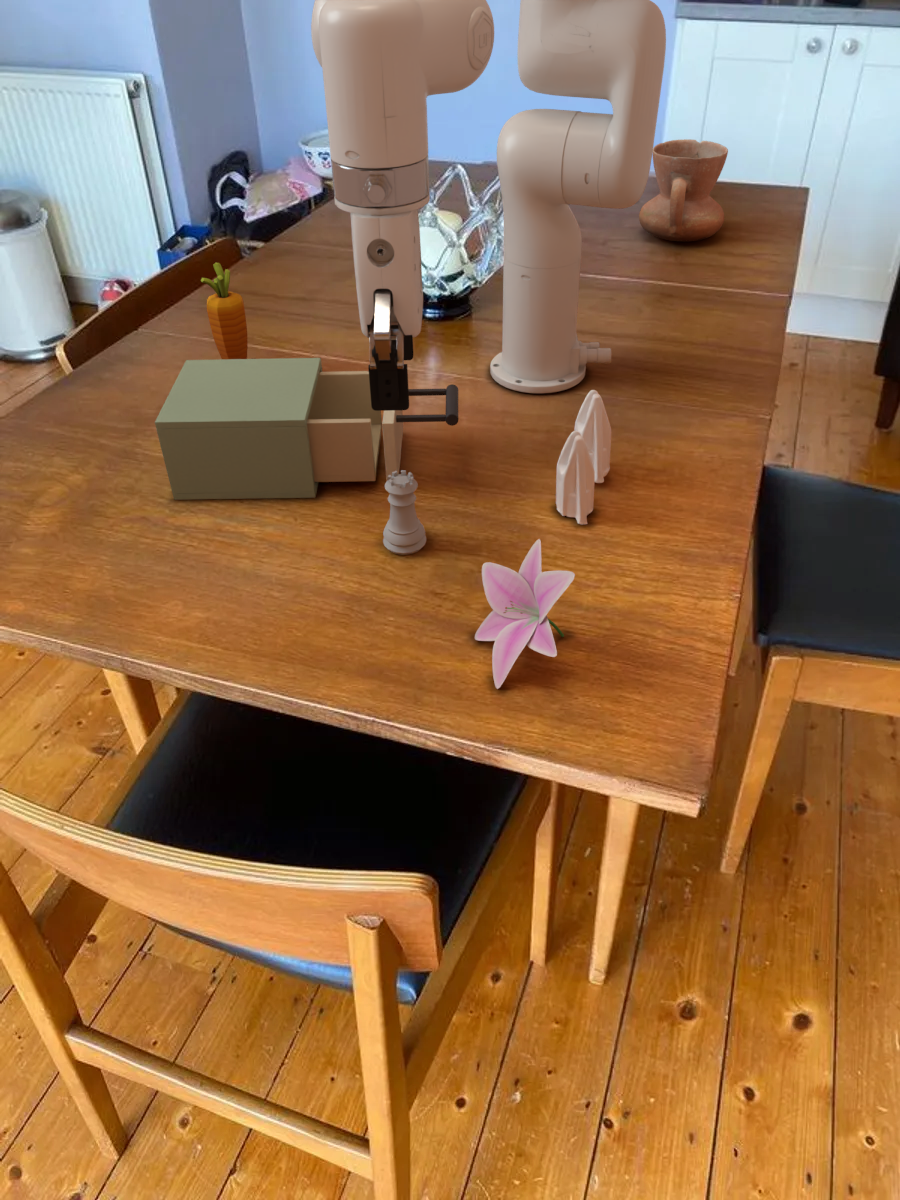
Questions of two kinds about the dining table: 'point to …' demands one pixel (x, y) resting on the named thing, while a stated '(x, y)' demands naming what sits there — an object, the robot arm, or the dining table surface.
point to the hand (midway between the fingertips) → (393, 382)
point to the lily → (520, 610)
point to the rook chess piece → (403, 516)
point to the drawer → (360, 427)
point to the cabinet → (240, 429)
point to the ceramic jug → (685, 191)
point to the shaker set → (584, 460)
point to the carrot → (227, 317)
